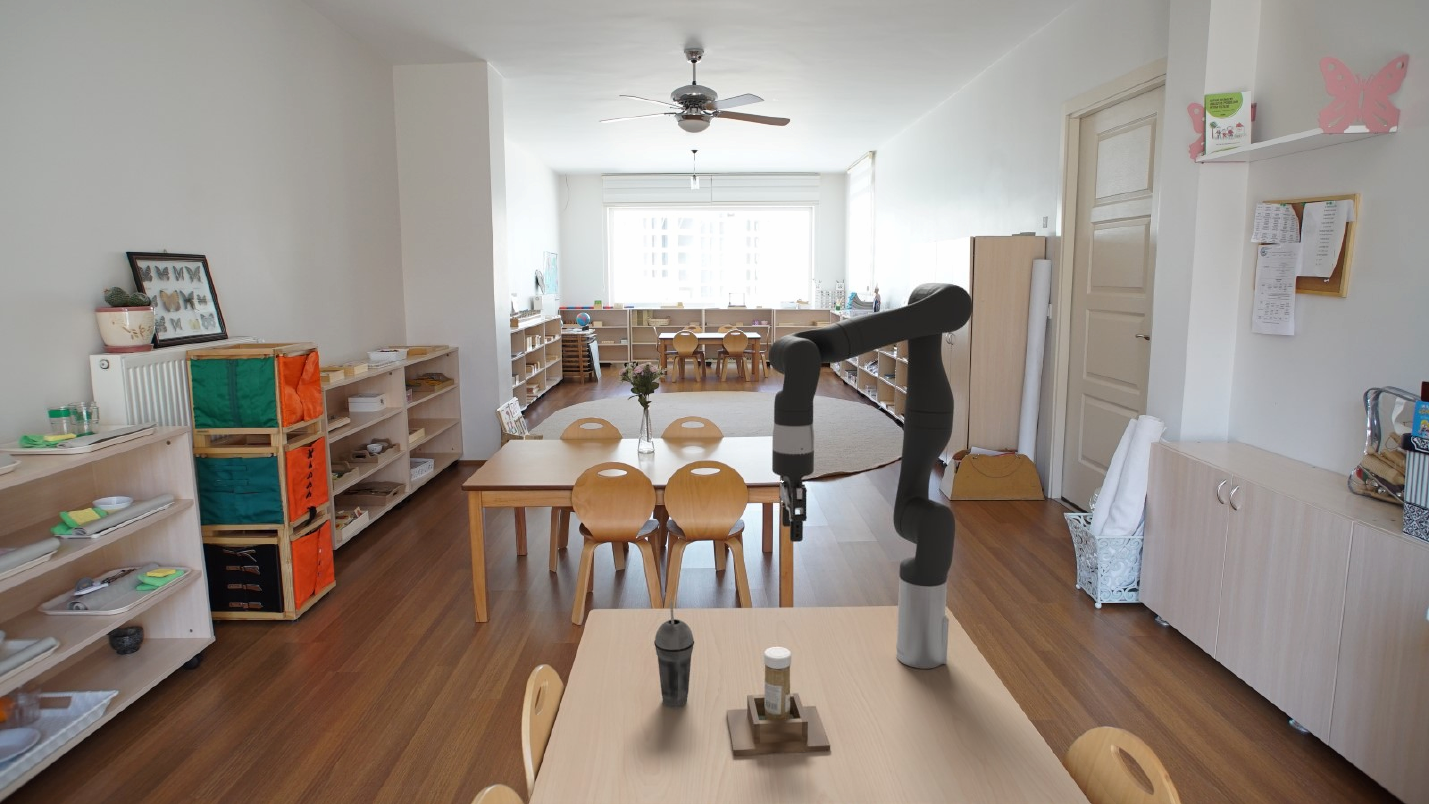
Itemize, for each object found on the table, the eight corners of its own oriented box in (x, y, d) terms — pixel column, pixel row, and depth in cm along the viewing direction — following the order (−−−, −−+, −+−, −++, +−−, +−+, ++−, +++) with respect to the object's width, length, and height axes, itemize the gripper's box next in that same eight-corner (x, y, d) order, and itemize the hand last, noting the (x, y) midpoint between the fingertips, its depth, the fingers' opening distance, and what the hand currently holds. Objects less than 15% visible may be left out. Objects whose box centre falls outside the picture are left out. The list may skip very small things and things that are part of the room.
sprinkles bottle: (795, 727, 137) (796, 653, 134) (774, 736, 134) (775, 661, 132) (779, 715, 140) (779, 643, 138) (758, 723, 138) (758, 650, 136)
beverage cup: (700, 694, 150) (699, 592, 146) (686, 714, 143) (685, 608, 140) (664, 687, 152) (662, 587, 149) (648, 707, 145) (646, 603, 142)
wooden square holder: (815, 711, 144) (815, 687, 143) (830, 750, 132) (830, 725, 131) (726, 715, 143) (726, 691, 142) (733, 755, 131) (733, 730, 130)
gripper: (821, 456, 139) (820, 546, 141) (806, 438, 153) (804, 520, 155) (778, 457, 138) (777, 547, 141) (766, 439, 152) (766, 521, 155)
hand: (792, 533), depth 148 cm, fingers open, 8 cm apart
